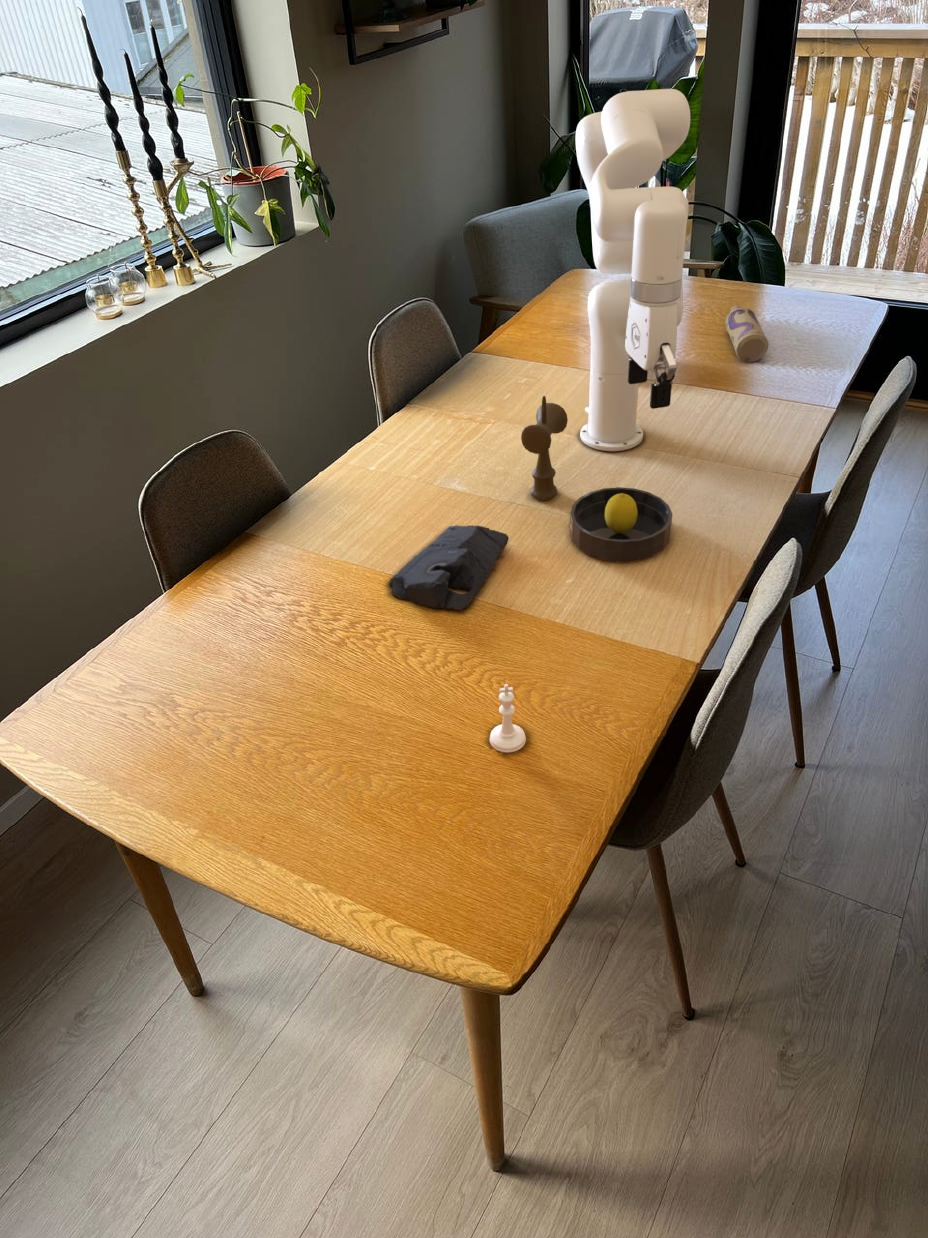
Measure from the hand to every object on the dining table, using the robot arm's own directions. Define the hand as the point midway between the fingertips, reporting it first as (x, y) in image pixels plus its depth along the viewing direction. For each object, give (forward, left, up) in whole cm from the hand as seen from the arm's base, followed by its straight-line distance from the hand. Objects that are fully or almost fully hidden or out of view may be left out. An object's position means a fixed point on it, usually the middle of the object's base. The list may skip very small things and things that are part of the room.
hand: (648, 394), depth 157 cm
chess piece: (+39, -43, -25) cm, 63 cm away
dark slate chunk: (-1, -35, -25) cm, 43 cm away
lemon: (+2, -5, -24) cm, 25 cm away
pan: (+2, -5, -25) cm, 25 cm away
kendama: (-16, -11, -25) cm, 31 cm away
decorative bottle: (-57, +62, -25) cm, 88 cm away
